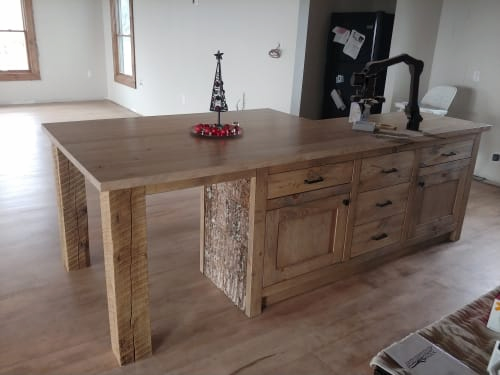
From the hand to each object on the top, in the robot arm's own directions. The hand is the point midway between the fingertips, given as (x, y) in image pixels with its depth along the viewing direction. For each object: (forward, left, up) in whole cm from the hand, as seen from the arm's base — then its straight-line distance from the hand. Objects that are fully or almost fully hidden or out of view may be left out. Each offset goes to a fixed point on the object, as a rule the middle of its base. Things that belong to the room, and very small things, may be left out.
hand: (365, 114), depth 251 cm
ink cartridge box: (+6, -19, -9) cm, 22 cm away
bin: (0, 0, -9) cm, 9 cm away
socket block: (-11, -11, -9) cm, 18 cm away
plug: (0, 0, -2) cm, 2 cm away
